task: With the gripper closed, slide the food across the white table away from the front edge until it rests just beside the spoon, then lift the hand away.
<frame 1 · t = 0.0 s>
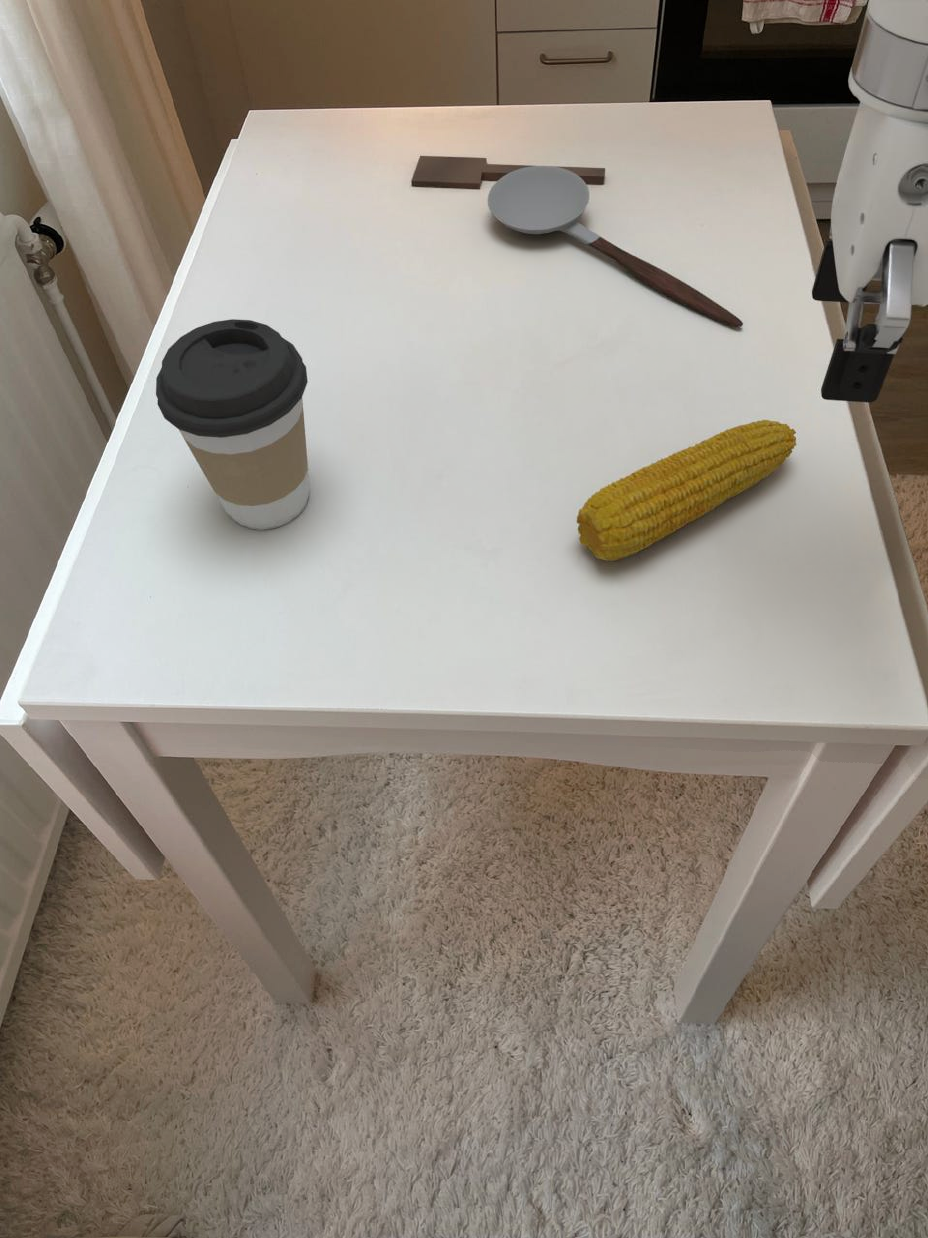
hand: (841, 346, 60), 20 cm above the table, tool pointing down, fingers open, 9 cm apart
spoon: (612, 264, 100), on the table
spatula: (509, 176, 111), on the table
food: (683, 508, 79), on the table
coffee cup: (268, 500, 82), on the table
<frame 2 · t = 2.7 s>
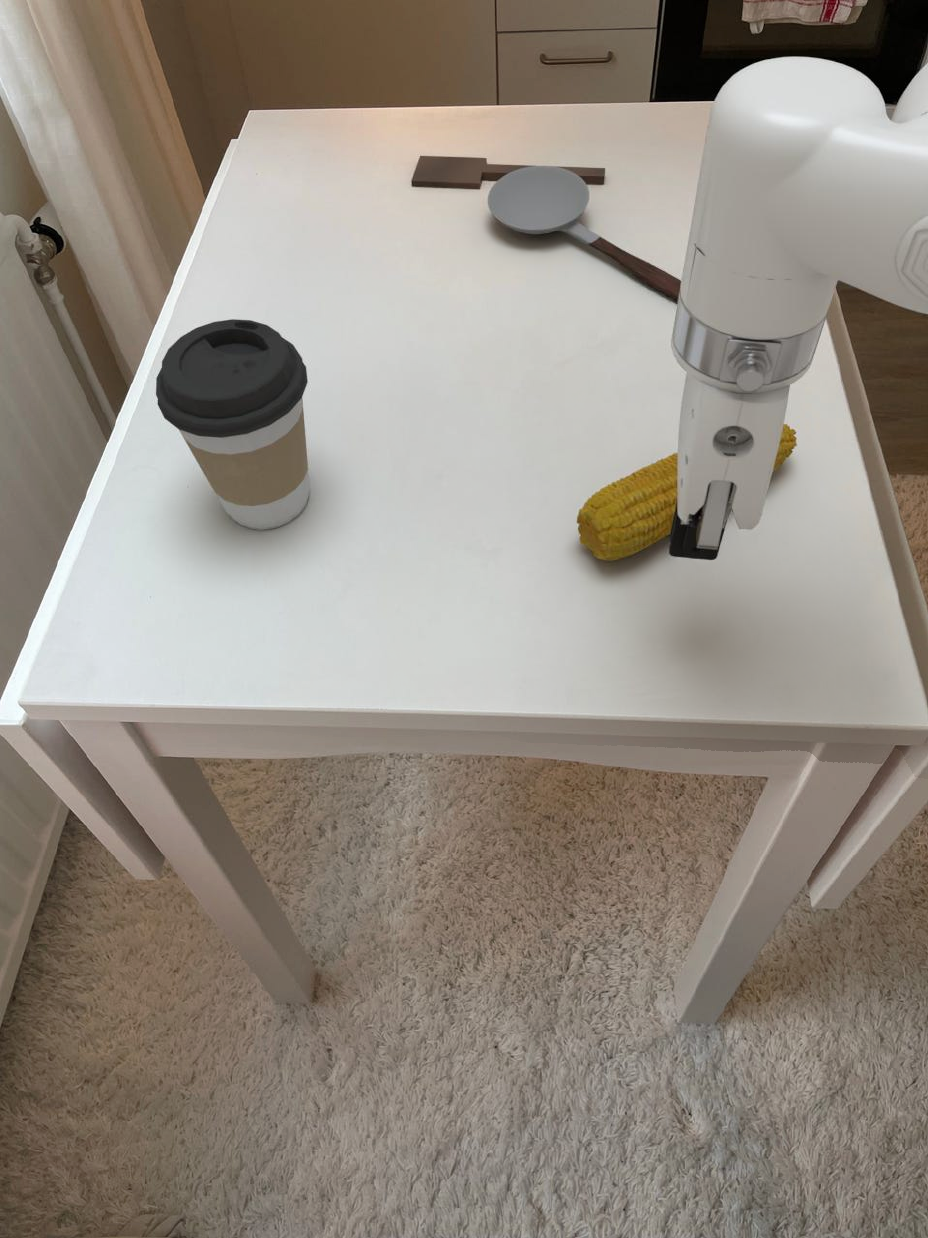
hand: (692, 549, 65), 8 cm above the table, tool pointing down, fingers closed
nothing on the table moved.
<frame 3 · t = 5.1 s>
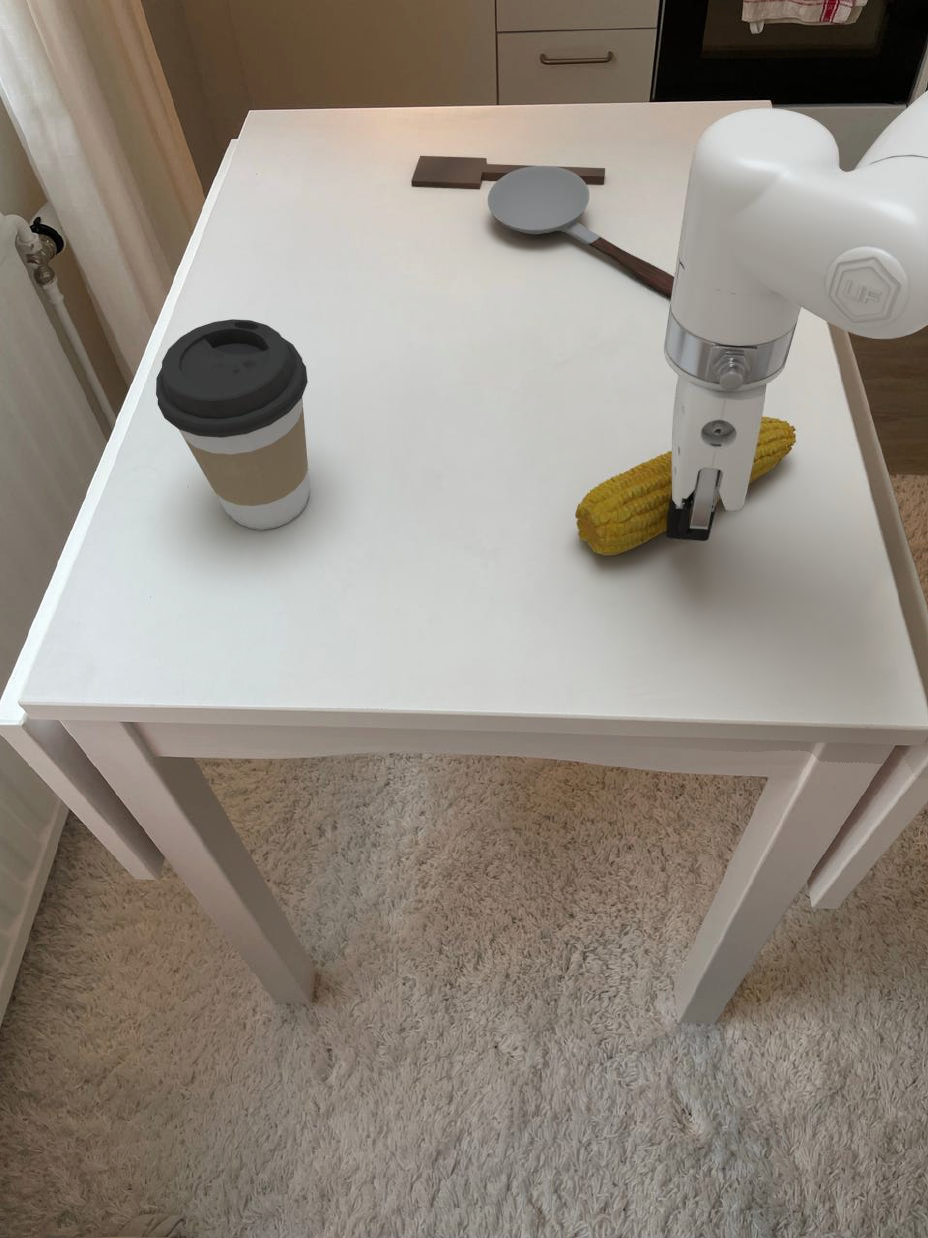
hand: (686, 531, 73), 3 cm above the table, tool pointing down, fingers closed
food: (682, 504, 79), on the table, touching gripper
everything else where it was.
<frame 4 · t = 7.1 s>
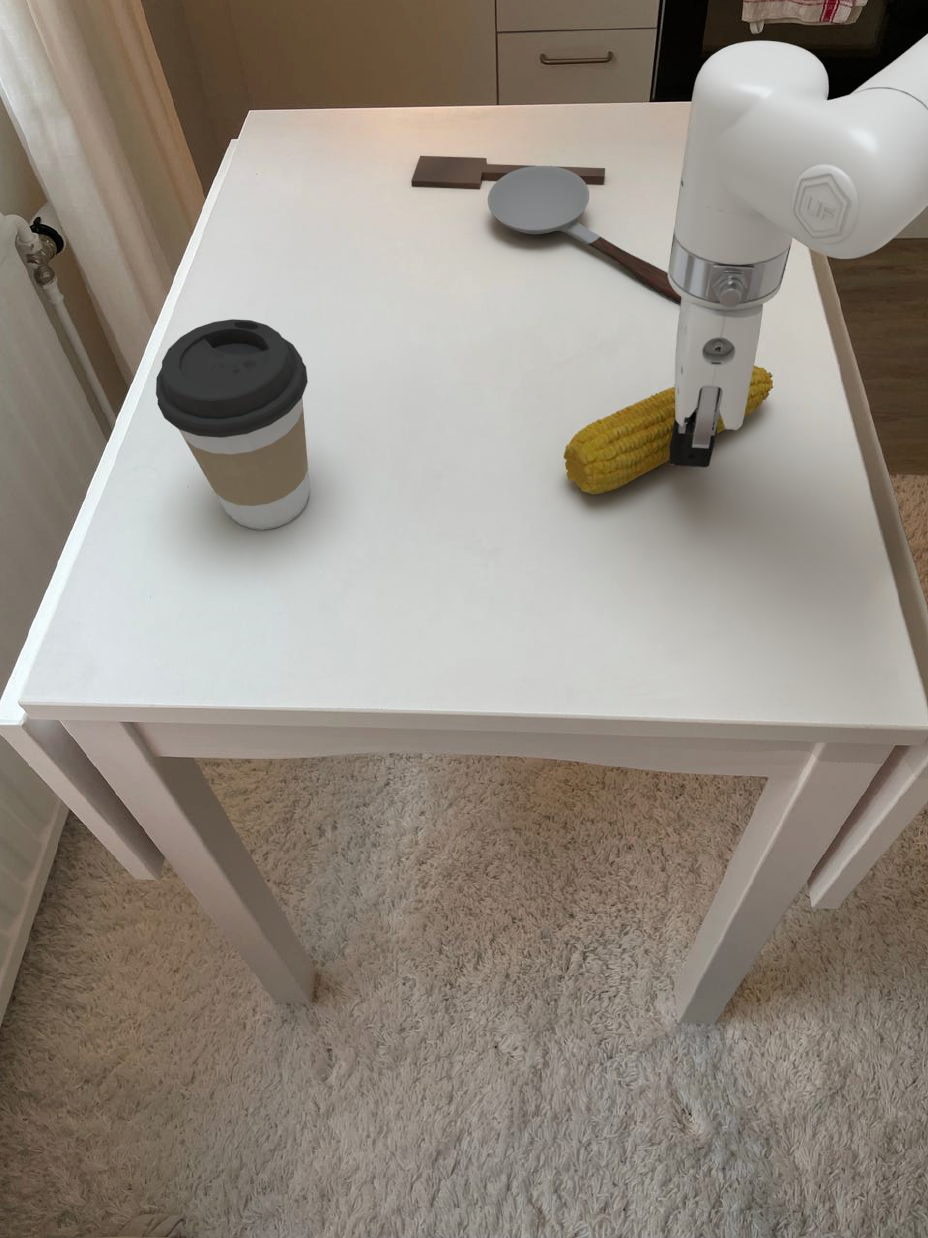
hand: (688, 458, 78), 3 cm above the table, tool pointing down, fingers closed
food: (665, 448, 83), on the table, touching gripper
everything else where it was.
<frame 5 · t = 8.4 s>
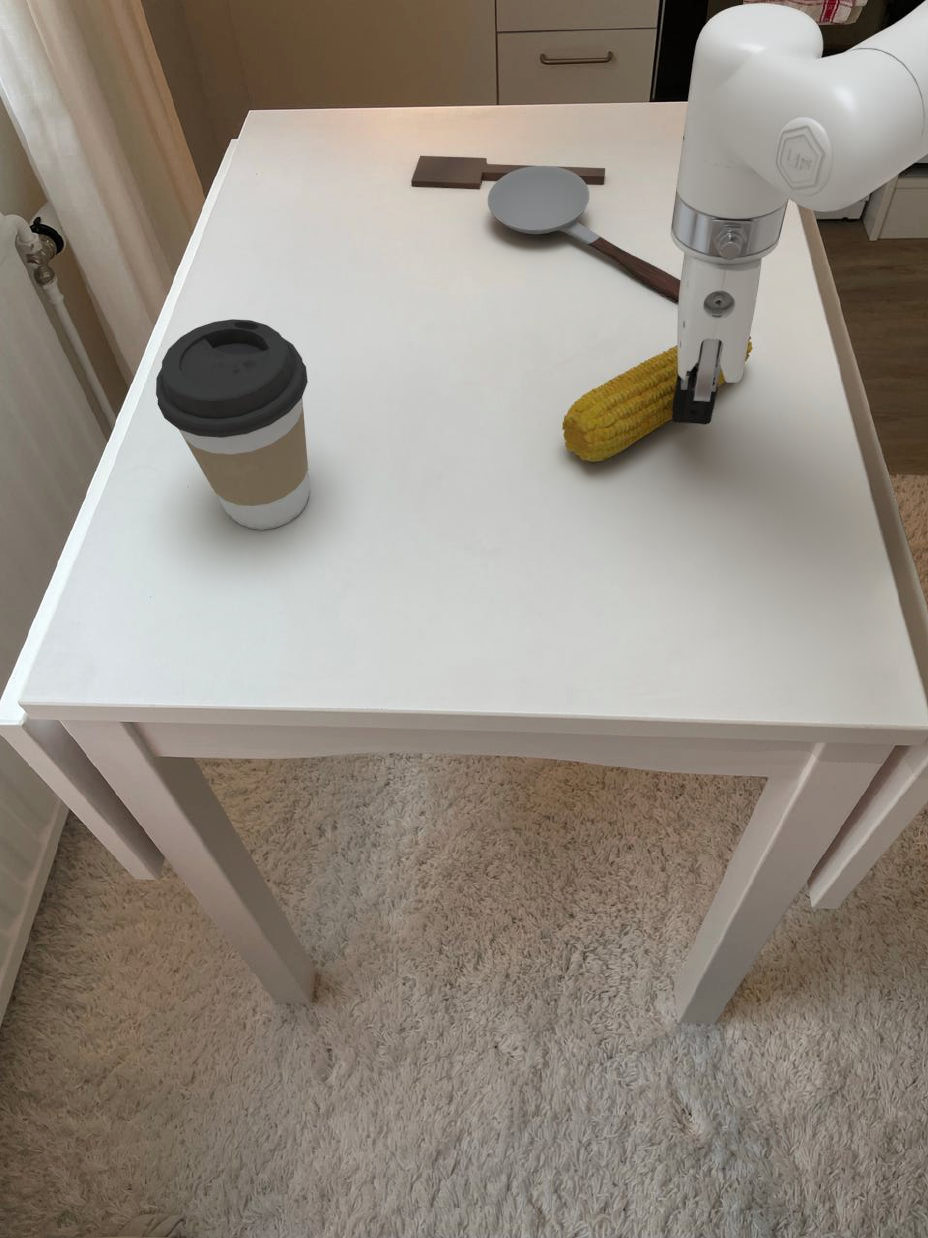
hand: (690, 416, 81), 3 cm above the table, tool pointing down, fingers closed
food: (655, 414, 86), on the table, touching gripper
everything else where it was.
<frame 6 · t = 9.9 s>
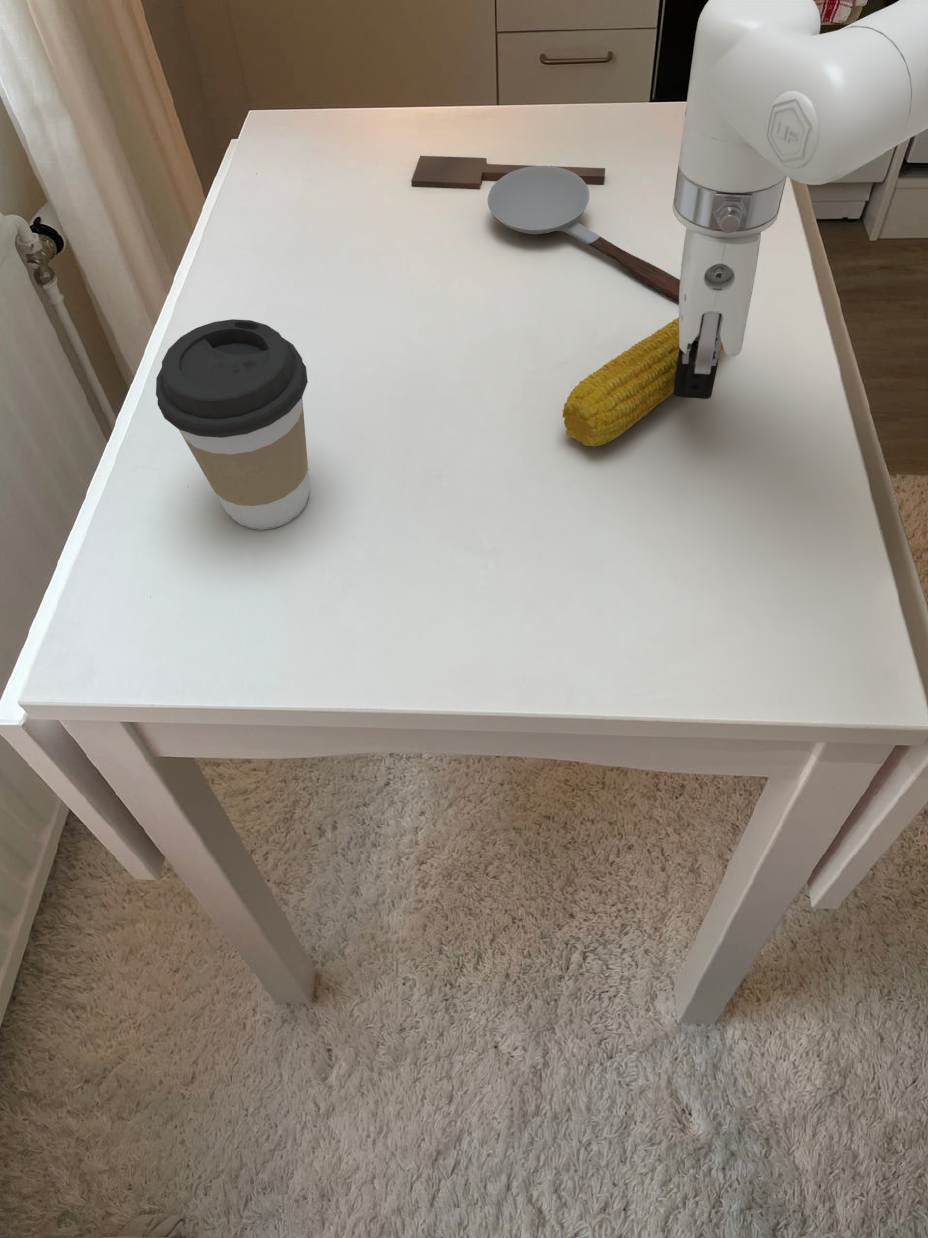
hand: (692, 391, 83), 3 cm above the table, tool pointing down, fingers closed
food: (647, 396, 87), on the table
everything else where it was.
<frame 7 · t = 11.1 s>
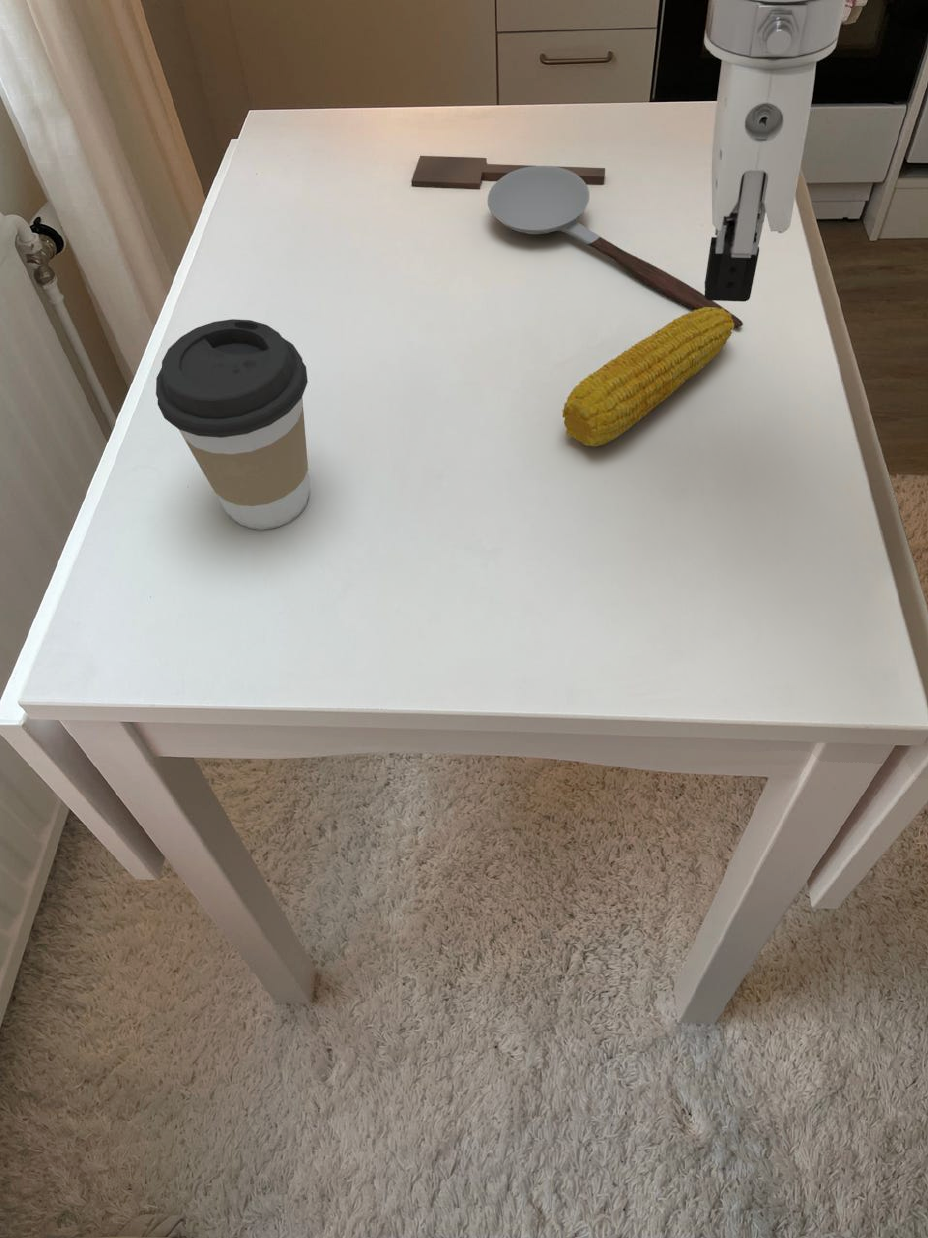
hand: (726, 293, 69), 16 cm above the table, tool pointing down, fingers closed
nothing on the table moved.
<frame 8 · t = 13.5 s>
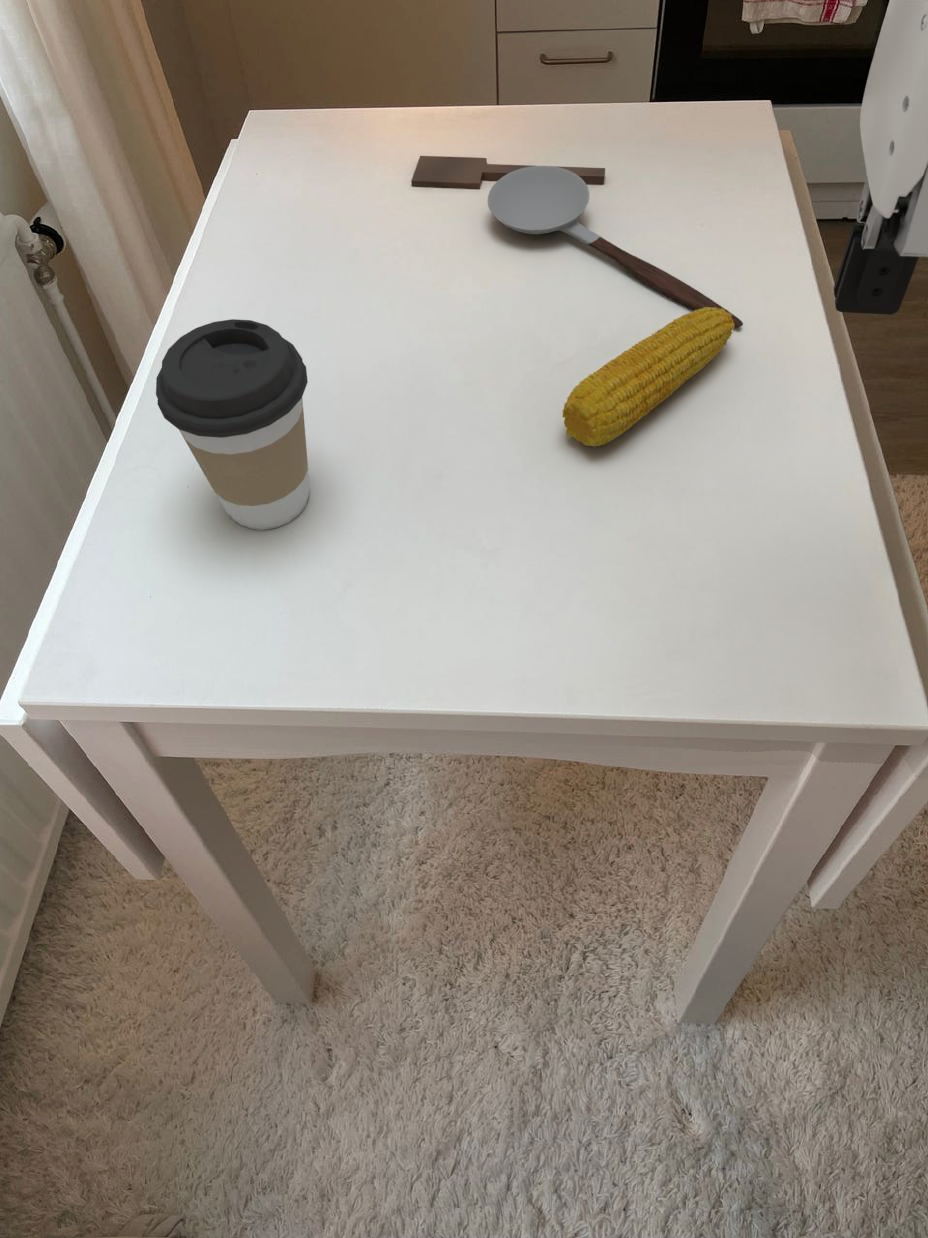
hand: (864, 303, 51), 27 cm above the table, tool pointing down, fingers closed
nothing on the table moved.
at the end: food inside the target area (3.1 cm from its centre), on the table; food 20.8 cm from the spoon (horizontally); food tilted 0° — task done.
